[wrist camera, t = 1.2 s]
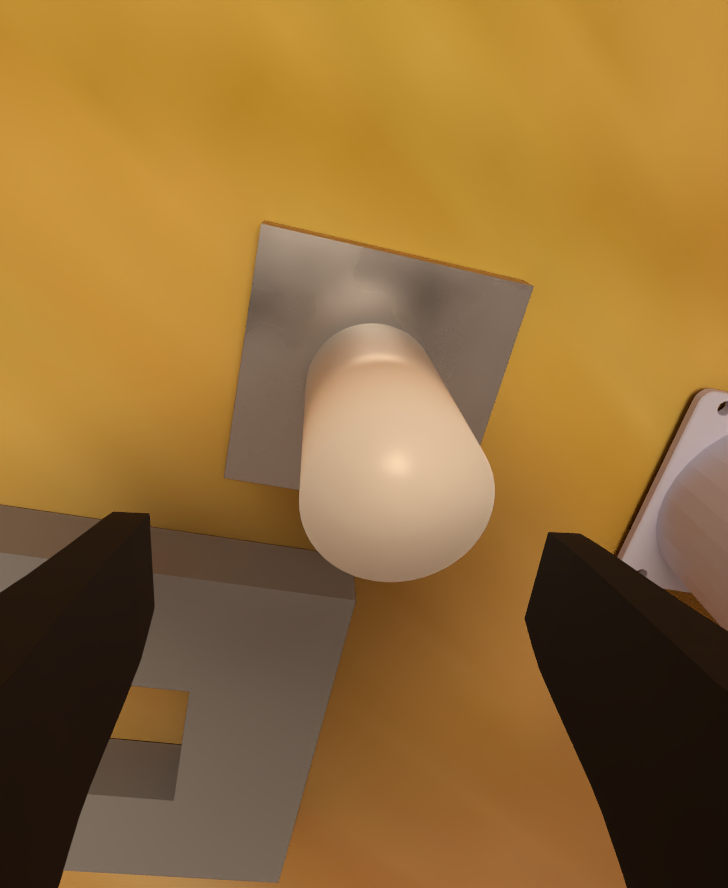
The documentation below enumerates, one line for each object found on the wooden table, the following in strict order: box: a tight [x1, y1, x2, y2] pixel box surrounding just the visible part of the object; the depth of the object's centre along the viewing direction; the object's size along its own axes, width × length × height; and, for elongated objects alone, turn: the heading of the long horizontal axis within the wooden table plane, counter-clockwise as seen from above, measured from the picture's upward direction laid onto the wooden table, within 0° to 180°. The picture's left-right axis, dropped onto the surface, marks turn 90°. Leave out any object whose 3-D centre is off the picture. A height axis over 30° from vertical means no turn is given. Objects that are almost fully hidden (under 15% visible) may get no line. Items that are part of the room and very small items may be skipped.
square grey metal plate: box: [224, 221, 534, 490], centre depth 19 cm, size 8×8×1 cm
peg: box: [299, 323, 495, 582], centre depth 15 cm, size 4×4×7 cm
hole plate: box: [0, 505, 356, 883], centre depth 23 cm, size 16×16×3 cm
